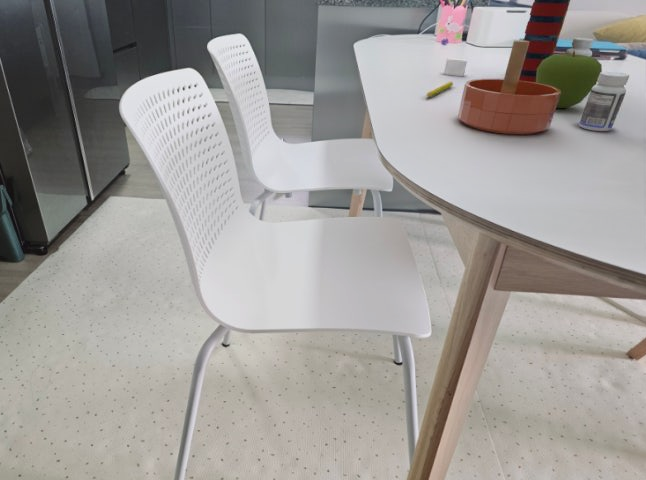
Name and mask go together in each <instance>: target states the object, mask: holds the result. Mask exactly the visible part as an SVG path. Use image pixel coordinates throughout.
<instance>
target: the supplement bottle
mask: <svg viewBox="0 0 646 480" xmlns="http://www.w3.org/2000/svg"><path fill="white" fill-rule="evenodd" d="M593 43H594V39H593V38H585V37H574V38H573V39H572V42H571V48H568V49H567V50H566V51H565V53H564V54H573V51H575V55H584V56H589V57H593V51H592V50H591V48H592V46H593Z"/></svg>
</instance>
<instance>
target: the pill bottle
mask: <svg viewBox="0 0 646 480" xmlns="http://www.w3.org/2000/svg"><path fill="white" fill-rule="evenodd" d="M629 78H630V74H629V73H626V72H618V71H602V72H601V73H600V74H599V77H598V79H597V80H598V81H597V83H596V85H594V86H593V87H592V89H591V91H590V92H589V94H588V98H587V101H586V103H585V107H584V109H583V112H582V115H581V118H580V120H579V124H578V126H579V127H580V128H582V129H584V130H588V131H594V132H609V131H611V130H612V129H613V127H614V125H615V121H616V119H617V117H618V114H619V111H620V109H621V107H622V104H623V101H624V99H625V96H626V93H627V88H626V87H625V86H626V85H627V83H628V82H629V81H628V80H629Z"/></svg>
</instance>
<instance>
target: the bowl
mask: <svg viewBox="0 0 646 480" xmlns="http://www.w3.org/2000/svg"><path fill="white" fill-rule="evenodd" d="M503 81H504V78H478V79H471V80H467V81H466V82H465V83H464V88H463V91H462V95H461V101H460V105H459V109H458V113H457V118H458V119H459V120H460V121H461V122H463V123H464V124H465V125H466V126H469V127H471V128H474V129H477V130H480V131H484V132H490V133H496V134H504V135H531V134H532V135H533V134H537V133H539V132H544V131H546V130H548V129H550V127H551V124H552V122H553V118H554V115H555V112H556V110H557V108H556V106H557V103H558V100H559V97H560V94H561V90H560V89H558V88H556V87H553V86H550V85H546V84H541V83H536V82H529V81H521V80H519V81H518V85H517V88H516V92H515V94H506V93H500V92H501V88H502V85H503Z"/></svg>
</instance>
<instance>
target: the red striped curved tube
mask: <svg viewBox="0 0 646 480" xmlns="http://www.w3.org/2000/svg"><path fill="white" fill-rule="evenodd" d="M570 2H571V0H533V2H532V5H531V8H530V13H529V18H528V19H529V20H528V21H527V23H526V25H525V26H526V27H525V30H524V38H523V39H522V40H524V41H529V45H528V49H527V52H526V56H525V60H524V63H523V67H522V70H521V74H520V78H519V80H521V81H529V82H536V74H537V68H538V67H539V65H540V64H541V62H542V61H543V60H544V59H546V58H548V57H549V56H551V55H555V51H556V49H557V45H558V42H559V37H560V34H561V31H562V30H563V27H564V23H565V20H566V17H567V13H568V10H569V7H570Z"/></svg>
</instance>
